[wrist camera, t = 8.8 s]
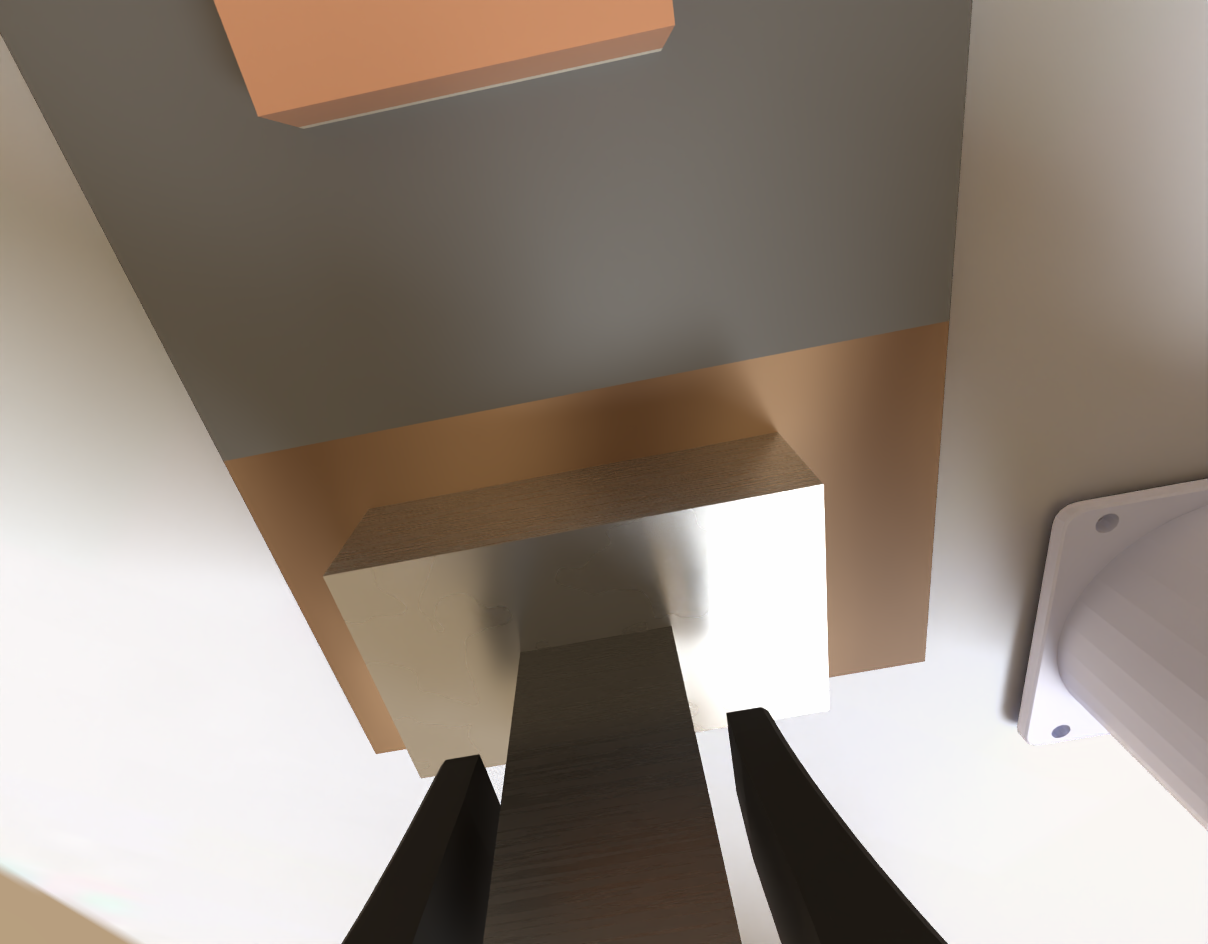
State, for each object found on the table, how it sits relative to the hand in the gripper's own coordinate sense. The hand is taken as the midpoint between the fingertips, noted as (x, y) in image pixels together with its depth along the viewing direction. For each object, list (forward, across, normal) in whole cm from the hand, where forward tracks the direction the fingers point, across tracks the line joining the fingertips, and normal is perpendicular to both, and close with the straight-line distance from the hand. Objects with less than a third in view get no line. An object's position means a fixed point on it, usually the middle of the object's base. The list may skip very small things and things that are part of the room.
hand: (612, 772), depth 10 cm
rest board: (+5, 0, -1) cm, 5 cm away
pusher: (+4, 0, -1) cm, 5 cm away
